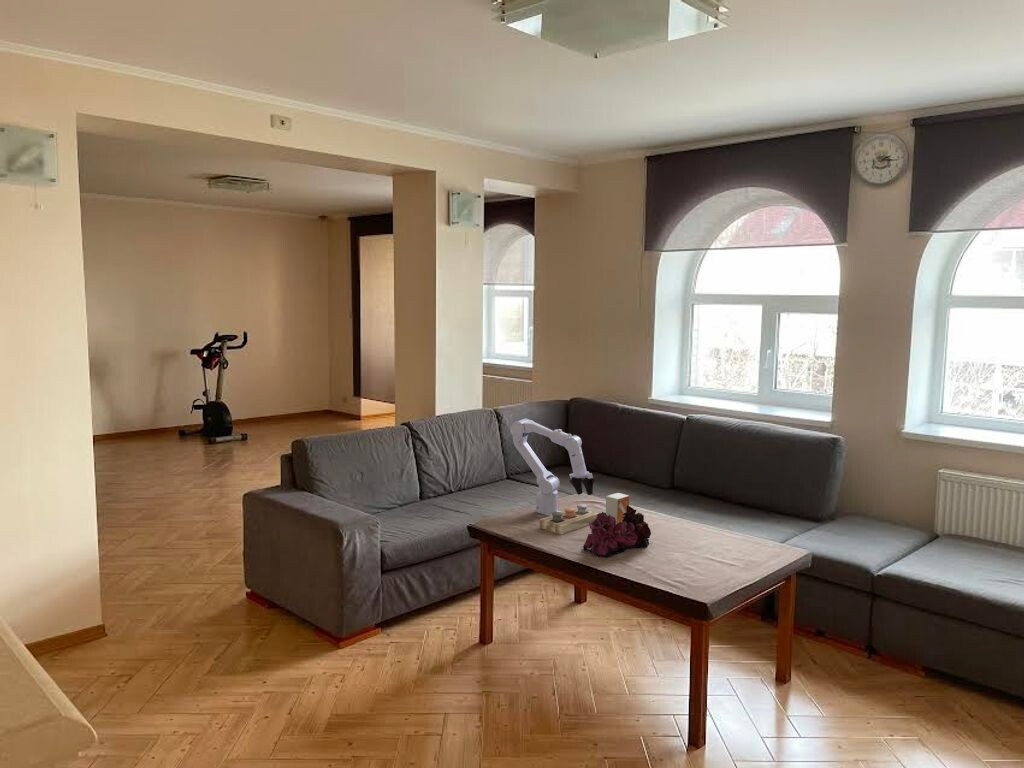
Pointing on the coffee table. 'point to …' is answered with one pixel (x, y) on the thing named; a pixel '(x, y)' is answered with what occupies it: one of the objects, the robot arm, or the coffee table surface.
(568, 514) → the plunger terracotta
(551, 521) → the button board
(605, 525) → the flower arrangement
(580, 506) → the knob
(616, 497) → the small box
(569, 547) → the coffee table surface
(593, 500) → the coffee table surface
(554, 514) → the plunger charcoal
